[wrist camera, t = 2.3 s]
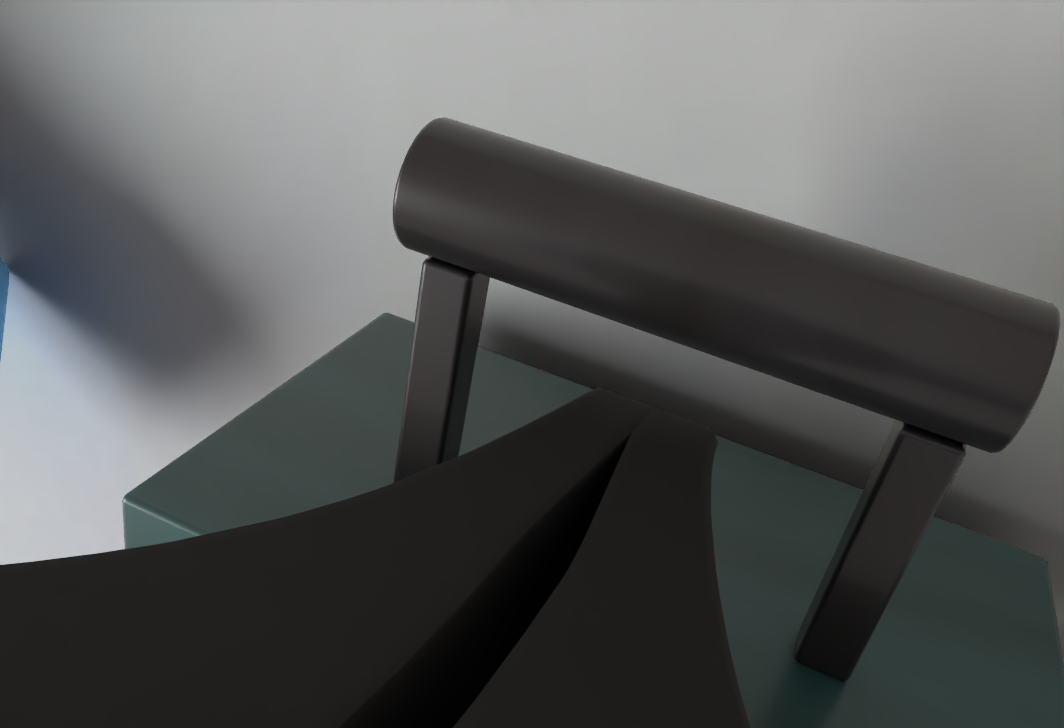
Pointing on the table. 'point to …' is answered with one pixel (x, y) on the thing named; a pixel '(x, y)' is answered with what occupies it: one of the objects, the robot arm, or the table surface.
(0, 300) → the building blocks
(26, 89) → the table surface
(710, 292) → the drawer
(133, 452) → the table surface
